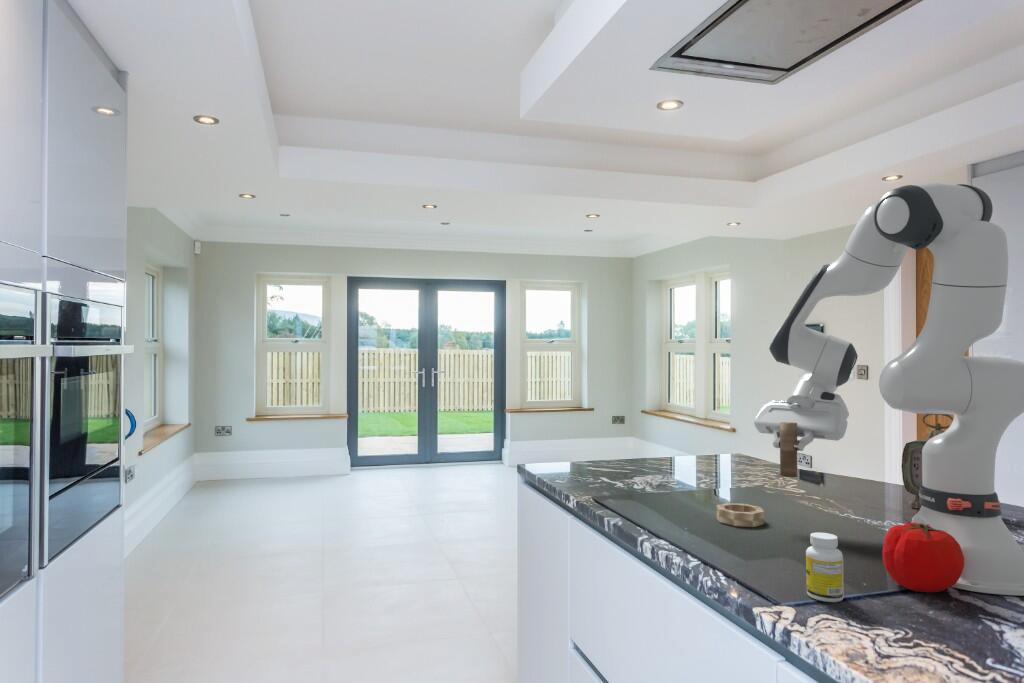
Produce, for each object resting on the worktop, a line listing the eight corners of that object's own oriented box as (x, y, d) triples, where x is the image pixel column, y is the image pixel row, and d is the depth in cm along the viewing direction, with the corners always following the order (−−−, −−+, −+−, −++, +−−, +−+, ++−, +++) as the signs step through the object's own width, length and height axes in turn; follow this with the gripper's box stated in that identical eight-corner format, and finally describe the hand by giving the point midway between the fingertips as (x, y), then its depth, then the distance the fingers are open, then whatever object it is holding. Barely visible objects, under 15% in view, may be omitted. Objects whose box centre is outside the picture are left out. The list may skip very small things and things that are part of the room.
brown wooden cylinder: (799, 477, 141) (798, 423, 141) (782, 476, 142) (781, 423, 142) (795, 474, 144) (794, 422, 145) (778, 474, 145) (778, 421, 146)
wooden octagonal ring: (766, 527, 143) (766, 514, 143) (720, 525, 145) (720, 512, 145) (758, 516, 153) (758, 504, 153) (715, 514, 155) (715, 502, 155)
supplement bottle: (811, 588, 105) (810, 529, 106) (847, 596, 102) (846, 535, 102) (802, 597, 101) (801, 536, 101) (839, 606, 98) (838, 542, 98)
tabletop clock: (901, 507, 163) (900, 411, 164) (912, 502, 169) (911, 409, 170) (969, 518, 153) (968, 415, 153) (978, 512, 159) (977, 413, 159)
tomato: (882, 572, 113) (882, 510, 113) (961, 585, 107) (960, 519, 107) (882, 594, 103) (881, 525, 103) (968, 608, 97) (967, 535, 97)
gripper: (761, 392, 156) (740, 434, 150) (847, 395, 140) (827, 443, 134) (771, 409, 159) (750, 451, 152) (856, 415, 143) (837, 462, 136)
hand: (787, 447), depth 143 cm, fingers closed on brown wooden cylinder, 4 cm apart
